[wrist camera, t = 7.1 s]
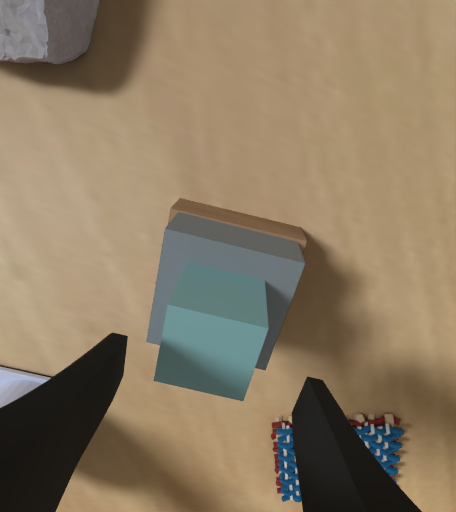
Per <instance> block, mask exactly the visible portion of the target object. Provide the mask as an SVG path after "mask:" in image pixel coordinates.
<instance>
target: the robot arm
mask: <svg viewBox="0 0 456 512" xmlns="http://www.w3.org/2000/svg"><path fill="white" fill-rule="evenodd" d="M127 338H128V336H125V335H121V334H116V333H111V334H109V335H108V336H107V337H105V338H104V339H103V340H102V341H101V342H99V343H98V344H97V345H96V346H94V347H93V348H92V349H91V350H89V351H88V352H87V353H86V354H84V355H83V356H82V357H80V358H79V359H78V360H76V361H75V362H73V363H72V364H71V365H69V366H68V367H67V368H65V369H64V370H62V371H61V372H59V373H58V374H56V375H55V376H53V377H52V378H50V377H45V376H41V375H36V374H32V373H27V372H23V371H18V370H14V369H9V368H5V367H0V512H55V511H56V509H57V507H58V505H59V502H60V500H61V498H62V496H63V494H64V491H65V489H66V487H67V485H68V483H69V480H70V478H71V476H72V474H73V472H74V470H75V468H76V466H77V464H78V462H79V460H80V458H81V456H82V454H83V453H84V451H85V449H86V447H87V445H88V444H89V442H90V440H91V438H92V437H93V435H94V433H95V431H96V429H97V428H98V426H99V424H100V422H101V421H102V419H103V417H104V415H105V413H106V412H107V410H108V408H109V406H110V404H111V402H112V401H113V398H114V396H115V394H116V391H117V389H118V387H119V384H120V382H121V380H122V377H123V373H124V364H125V356H126V347H127ZM292 436H293V446H294V453H295V460H296V466H297V473H298V479H299V486H300V492H301V499H302V506H303V512H422V511H421V510H420V509H419V508H418V507H417V506H416V505H415V504H414V503H413V502H412V501H411V500H410V499H409V497H408V496H407V495H406V494H405V493H404V492H403V491H402V490H401V489H400V487H399V486H398V485H397V484H396V483H395V481H394V480H393V479H392V478H391V477H390V475H389V474H388V473H387V472H386V471H385V470H384V468H383V467H382V466H381V465H380V463H379V462H378V461H377V459H376V458H375V457H374V456H373V454H372V453H371V451H370V450H369V449H368V447H367V446H366V445H365V443H364V442H363V441H362V439H361V438H360V436H359V435H358V434H357V432H356V431H355V429H354V428H353V426H352V425H351V423H350V422H349V420H348V419H347V417H346V416H345V414H344V413H343V411H342V410H341V408H340V407H339V405H338V404H337V402H336V400H335V399H334V397H333V396H332V394H331V393H330V391H329V389H328V388H327V386H326V385H325V383H324V382H323V380H320V379H316V378H311V377H307V379H306V381H305V383H304V386H303V388H302V390H301V393H300V395H299V397H298V400H297V402H296V404H295V407H294V409H293V411H292Z"/></svg>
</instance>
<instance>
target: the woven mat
mask: <svg viewBox="0 0 456 512" xmlns="http://www.w3.org/2000/svg"><path fill="white" fill-rule="evenodd" d="M345 416H346V417H347V419H348V420H349V417H348V415H345ZM354 417H355V421H354V422H350V421H349V422H350V423H351V425H352V426H353V428H354V429H355V431H356V432H357V434H358V435H359V436H360V438H361V439H362V440H363V442H364V443H365V445H366V446H367V447H368V449H369V450H370V451H371V453H372V454H373V456H374V457H375V458H376V459H377V461H378V462H379V463H380V465H381V466H382V467H383V468H384V470H385V471H386V472H387V473H388V474H389V475H390V477H393V476H395V474H398V469H397V468H394V467H393V466H390V465H392V464H397V461H400V457H399V456H398V455H396V456H395V454H391V453H393V452H398V450H399V449H400V448H402V444H401V443H400V442H396V441H392V440H399V438H400V436H401V435H402V434H404V430H403V429H402V428H398V427H394V423H395V424H398V425H399V421H400V419H398V418H396V417H393V414H384V416H382V417H381V418H379V419H377V420H375V414H371V415H369V416H368V420H367V421H365V420H364V417H363V415H362V414H360V413H359V414H356V415H355V416H354ZM382 424H383V426H378V425H382ZM375 426H378V427H375ZM272 428H275V429H273V434H271V438H272V440H274V439H275V438H276V440H277V442H274V447H273V451H274V452H277V453H278V454H274V456H275V466H276V469H275V472H276V473H277V474H278V473H279V477H276V479H277V481H276V485H278V486H280V487H281V488H277V492H278V493H282V494H284V496H282V501H283V502H284V501H287V500H289V499H290V500H291V501H292V502H293V500H294V501H295V502H301V501H302V499H301V495H299V494H301V492H300V486H299V479H298V473H297V466H296V460H295V453H294V446H293V436H292V415H290V416H289V417H288V422H282V416H275V422H274V423H272ZM285 428H286V429H285ZM377 439H378V440H377ZM394 481H395V480H394ZM395 483H397V482H396V481H395Z"/></svg>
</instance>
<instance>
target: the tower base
mask: <svg viewBox="0 0 456 512" xmlns="http://www.w3.org/2000/svg"><path fill="white" fill-rule="evenodd" d="M178 212H181V213H185V214H189V215H193V216H197V217H201V218H205V219H209V220H213V221H217V222H221V223H224V224H228V225H232V226H236V227H240V228H244V229H248V230H252V231H256V232H260V233H264V234H268V235H272V236H276V237H280V238H284V239H288V240H292V241H296V242H298V245H299V248H300V250H301V253H302V254H303V252H304V249H305V246H306V243H307V240H306V237H305V235H304V233H303V231H302V229H301V227H297V226H293V225H289V224H284V223H280V222H276V221H272V220H268V219H264V218H260V217H256V216H251V215H247V214H243V213H239V212H235V211H231V210H227V209H222V208H218V207H214V206H210V205H206V204H202V203H198V202H194V201H189V200H185V199H181V198H180V199H179V200H178V201H177V202H176V203H175V204H174V205H173V206H172V207H171V209H170V215H169V222H168V224H169V223H170V222H171V221H172V219H173V218H174V217H175V216H176V214H177V213H178Z"/></svg>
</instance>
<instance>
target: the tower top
mask: <svg viewBox="0 0 456 512" xmlns="http://www.w3.org/2000/svg"><path fill="white" fill-rule="evenodd" d="M187 262H191V263H195V264H199V265H203V266H207V267H211V268H215V269H220V270H224V271H228V272H232V273H236V274H240V275H244V276H249V277H253V278H257V279H261V280H265V289H266V302H267V315H268V327H269V329H268V332H267V335H266V337H265V340H264V343H263V346H262V349H261V352H260V355H259V357H258V360H257V363H256V366H255V368H258V369H262V370H266V367H267V364H268V362H269V359H270V356H271V354H272V351H273V348H274V346H275V343H276V341H277V338H278V335H279V333H280V330H281V327H282V325H283V322H284V319H285V317H286V314H287V311H288V309H289V306H290V303H291V301H292V298H293V295H294V293H295V290H296V287H297V285H298V282H299V279H300V277H301V274H302V271H303V269H304V266H305V261H304V258H303V256H302V253H301V250H300V248H299V245H298V242H296V241H292V240H288V239H284V238H280V237H276V236H272V235H268V234H264V233H260V232H256V231H252V230H248V229H244V228H240V227H236V226H232V225H228V224H224V223H221V222H217V221H213V220H209V219H205V218H201V217H197V216H193V215H189V214H185V213H181V212H178V213H177V214H176V216H175V217H174V218H173V219H172V221H171V222H170V223H169V224H168V226H167V227H166V228H165V232H164V238H163V244H162V250H161V256H160V263H159V269H158V275H157V281H156V287H155V293H154V299H153V305H152V311H151V317H150V323H149V329H148V335H147V341H146V342H149V343H153V344H157V345H160V344H161V338H162V333H163V327H164V322H165V316H166V311H167V305H168V303H169V300H170V298H171V296H172V294H173V292H174V290H175V287H176V285H177V283H178V281H179V279H180V277H181V274H182V272H183V270H184V268H185V266H186V263H187Z"/></svg>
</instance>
